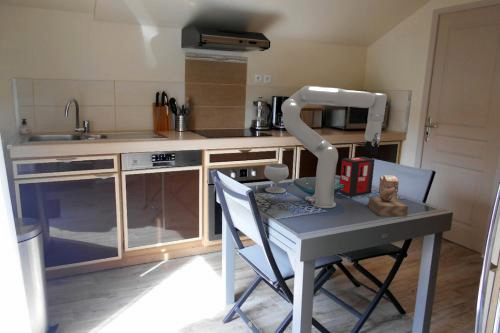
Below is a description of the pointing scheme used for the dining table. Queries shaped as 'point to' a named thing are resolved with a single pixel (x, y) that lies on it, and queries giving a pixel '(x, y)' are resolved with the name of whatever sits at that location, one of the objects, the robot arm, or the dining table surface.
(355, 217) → the dining table surface
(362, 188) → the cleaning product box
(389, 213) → the walnut base block
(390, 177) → the stack of blocks
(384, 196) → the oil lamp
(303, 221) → the dining table surface
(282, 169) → the chalice
